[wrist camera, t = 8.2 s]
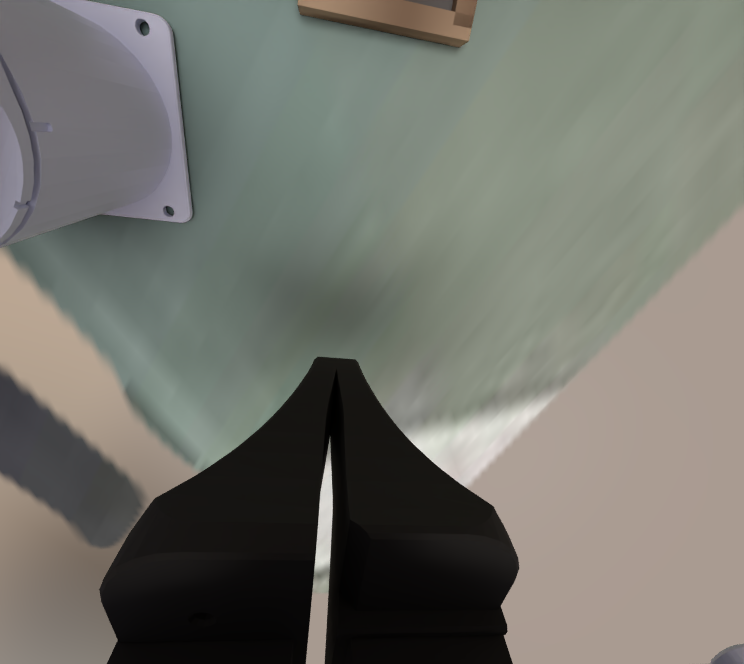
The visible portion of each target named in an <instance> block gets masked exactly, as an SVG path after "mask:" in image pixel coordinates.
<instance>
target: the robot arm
mask: <svg viewBox="0 0 744 664" xmlns="http://www.w3.org/2000/svg"><path fill="white" fill-rule="evenodd" d="M145 21H146V22H147V23H148V25H149V28H150V33H149V34H148V35H147V36H143V34H142V33H141V31H140V24H141V23H142V22H145ZM166 206H170V207H171V208H173V210H174V215H173V216H172V215H170V214H168V213H167V211H166ZM99 214H104V215H113V216H123V217H132V218H141V219H150V220H160V221H169V222H178V223H185V222H187V221H189V220H190V219H191V218H192V215H193V211H192V202H191V192H190V183H189V174H188V165H187V156H186V147H185V137H184V128H183V119H182V110H181V101H180V92H179V83H178V73H177V64H176V55H175V46H174V37H173V32H172V28H171V27H170V25H169V23H168V22H167V21H166V20H165V19H164V18H162V17H161V16H159V15H156V14H153V13H148V12H143V11H138V10H133V9H128V8H123V7H118V6H112V5H107V4H102V3H97V2H92V1H87V0H0V248H1V247H4V246H7V245H10V244H13V243H16V242H19V241H22V240H25V239H28V238H31V237H34V236H37V235H40V234H43V233H46V232H49V231H52V230H55V229H58V228H61V227H64V226H67V225H70V224H73V223H76V222H78V221H81V220H84V219H87V218H90V217H93V216H96V215H99ZM329 439H330V442H331V466H332V489H333V518H332V539H331V558H330V578H329V596H328V615H327V633H326V650H325V664H513V663H512V660H511V657H510V654H509V651H508V648H507V645H506V642H505V639H504V635H505V634H506V633H507V624H506V621H505V618H504V615H503V612H502V609H501V604H502V602H503V600H504V599H505V597H506V595H507V594H508V592H509V590H510V588H511V587H512V585H513V583H514V581H515V579H516V576H517V573H518V570H519V562H518V557H517V554H516V552H515V549H514V547H513V545H512V542H511V540H510V538H509V535H508V533H507V531H506V529H505V527H504V525H503V523H502V522H501V520H500V518H499V517H498V515H497V513H496V511H495V509H494V507H493V506H492V505H491V504H489V503H488V502H486V501H484V500H483V499H482V498H480V497H479V496H477V495H476V494H474V493H473V492H471V491H470V490H468V489H467V488H465V487H464V486H462V485H461V484H460V483H458V482H457V481H456V480H454V479H453V478H452V477H450V476H449V475H448V474H447V473H445V472H444V471H443V470H441V469H440V468H439V467H438V466H437V465H435V464H434V463H433V462H432V461H431V460H430V459H429V458H427V457H426V456H425V455H424V454H423V453H422V452H421V451H420V450H419V449H418V448H417V447H416V446H415V445H414V444H413V443H412V442H411V441H410V440H409V439H408V438H407V437H406V436H405V435H404V434H403V433H402V431H401V430H400V429H399V428H398V427H397V426H396V424H395V423H394V422H393V421H392V419H391V418H390V417H389V415H388V414H387V413H386V411H385V410H384V408H383V407H382V406H381V404H380V403H379V401H378V400H377V398H376V396H375V395H374V393H373V391H372V390H371V388H370V386H369V385H368V383H367V381H366V379H365V377H364V375H363V373H362V371H361V369H360V366H359V364H358V362H357V361H356V360H354V359H341V358H328V357H317V358H316V359H314V362H313V364H312V366H311V368H310V369H309V371H308V373H307V374H306V376H305V377H304V379H303V380H302V382H301V383H300V384H299V386H298V387H297V388H296V390H295V391H294V392H293V394H292V395H291V396H290V397H289V398H288V400H287V401H286V402H285V403H284V404H283V405H282V407H281V408H280V409H279V410H278V411H277V412H276V413H275V414H274V415H273V416H272V417H271V418H270V419H269V420H268V421H267V422H266V423H265V424H264V425H263V426H262V427H261V428H260V429H258V430H257V431H256V432H255V433H254V434H253V435H251V436H250V437H249V438H248V439H247V440H246V441H244V442H243V443H242V444H241V445H239V446H238V447H237V448H235V449H234V450H233V451H231V452H230V453H229V454H227V455H226V456H224V457H223V458H221V459H220V460H219V461H217V462H216V463H214V464H213V465H211V466H210V467H208V468H207V469H205V470H204V471H202V472H201V473H199V474H197V475H196V476H194V477H192V478H191V479H189V480H187V481H185V482H183V483H182V484H180V485H178V486H176V487H175V488H173V489H171V490H169V491H167V492H166V493H164V494H162V495H160V496H159V497H156V498H155V499H154V500H153V501H152V503H151V504H150V505H149V507H148V508H147V510H146V511H145V512H144V514H143V515H142V516H141V518H140V519H139V521H138V522H137V523H136V525H135V526H134V528H133V529H132V530H131V532H130V533H129V535H128V537H127V538H126V540H125V542H124V544H123V545H122V547H121V549H120V551H119V552H118V554H117V556H116V558H115V559H114V561H113V563H112V565H111V567H110V568H109V570H108V572H107V574H106V575H105V577H104V579H103V582H102V584H101V587H100V589H99V590H100V596H101V602H102V604H103V607H104V609H105V611H106V613H107V616H108V618H109V621H110V623H111V625H112V628H113V630H114V632H115V634H116V637H117V639H118V642H117V643H116V645H115V647H114V650H113V652H112V654H111V656H110V658H109V660H108V662H107V664H306V654H307V643H308V632H309V622H310V611H311V600H312V588H313V577H314V566H315V555H316V542H317V529H318V516H319V502H320V491H321V485H322V479H323V474H324V468H325V462H326V456H327V450H328V444H329ZM710 664H744V644H740V645H734V646H731V647H729V648H726V649H724V650H723V651H721V652H719V653H718V654H717V655H716V656H715V657H714V658H713V659H712V660H711V663H710Z"/></svg>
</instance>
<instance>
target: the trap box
mask: <svg viewBox="0 0 744 664" xmlns="http://www.w3.org/2000/svg"><path fill="white" fill-rule="evenodd" d="M476 4H477V0H298V8H299V12H300V14H301V15H305V16H310V17H315V18H320V19H325V20H329V21H334V22H339V23H344V24H349V25H354V26H358V27H363V28H368V29H373V30H378V31H382V32H387V33H392V34H397V35H402V36H406V37H411V38H416V39H421V40H426V41H431V42H435V43H440V44H445V45H450V46H455V47H461V46H462V45H464V44H465V43H467V42H468V41H469V37H470V32H471V28H472V23H473V18H474V13H475V9H476Z"/></svg>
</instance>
